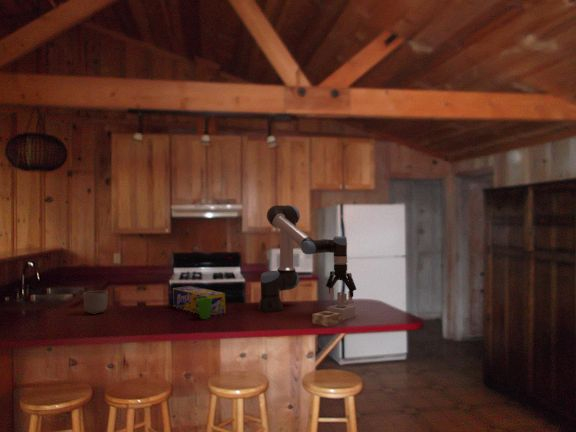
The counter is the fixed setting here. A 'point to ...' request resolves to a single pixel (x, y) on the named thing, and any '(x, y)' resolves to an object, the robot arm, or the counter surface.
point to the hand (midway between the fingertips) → (341, 301)
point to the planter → (95, 301)
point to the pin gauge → (340, 300)
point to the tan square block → (327, 318)
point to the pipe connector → (345, 299)
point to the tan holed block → (343, 311)
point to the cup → (204, 307)
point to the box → (190, 294)
